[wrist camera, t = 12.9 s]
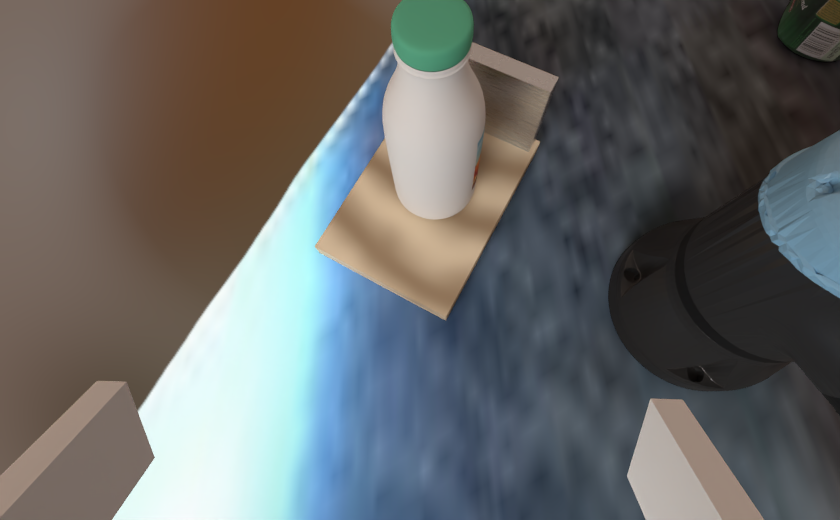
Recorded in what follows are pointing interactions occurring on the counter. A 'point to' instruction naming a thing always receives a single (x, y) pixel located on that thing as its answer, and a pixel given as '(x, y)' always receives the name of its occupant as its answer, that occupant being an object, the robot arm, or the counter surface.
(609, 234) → the counter surface
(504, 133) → the bookend
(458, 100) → the milk bottle
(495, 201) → the shelf board
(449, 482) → the counter surface
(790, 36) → the coffee jar
